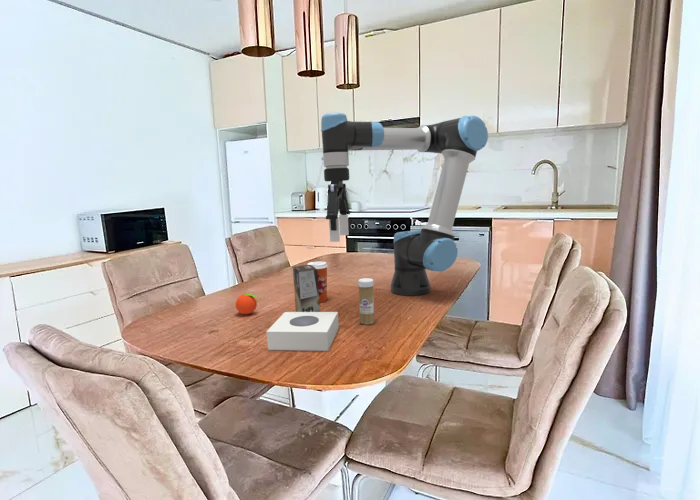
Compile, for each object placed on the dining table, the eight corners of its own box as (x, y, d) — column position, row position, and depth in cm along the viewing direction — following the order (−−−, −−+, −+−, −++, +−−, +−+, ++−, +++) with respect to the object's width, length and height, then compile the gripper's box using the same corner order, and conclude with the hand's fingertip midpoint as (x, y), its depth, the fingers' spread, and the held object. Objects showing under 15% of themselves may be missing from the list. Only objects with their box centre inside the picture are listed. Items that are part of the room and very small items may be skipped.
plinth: (338, 328, 120) (337, 311, 119) (328, 350, 104) (327, 331, 103) (286, 328, 122) (284, 311, 121) (268, 349, 106) (266, 330, 106)
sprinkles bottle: (360, 325, 121) (358, 281, 119) (359, 320, 126) (357, 277, 123) (375, 324, 121) (373, 280, 119) (374, 319, 126) (373, 277, 123)
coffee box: (321, 318, 129) (318, 269, 126) (301, 321, 127) (298, 271, 124) (313, 310, 137) (310, 264, 135) (295, 313, 135) (291, 266, 133)
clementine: (264, 311, 139) (262, 291, 138) (254, 317, 133) (252, 296, 132) (243, 310, 142) (241, 290, 140) (232, 316, 135) (230, 296, 134)
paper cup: (324, 304, 144) (322, 265, 141) (305, 303, 146) (302, 265, 144) (332, 298, 151) (330, 261, 149) (313, 297, 154) (311, 260, 151)
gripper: (333, 169, 134) (336, 233, 138) (312, 167, 110) (317, 244, 114) (355, 168, 133) (358, 232, 136) (339, 165, 109) (343, 244, 112)
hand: (340, 238), depth 125 cm, fingers open, 13 cm apart
